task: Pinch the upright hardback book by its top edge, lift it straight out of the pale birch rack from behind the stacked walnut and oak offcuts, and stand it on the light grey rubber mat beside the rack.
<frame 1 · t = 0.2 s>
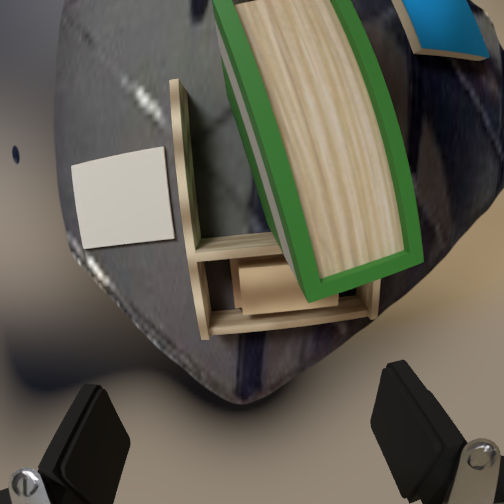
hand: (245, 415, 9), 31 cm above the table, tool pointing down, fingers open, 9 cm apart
mat: (120, 199, 37), on the table
oak offcut: (287, 279, 39), point 2 cm above the table, touching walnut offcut
hardback book: (275, 150, 37), on the table
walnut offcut: (283, 271, 41), on the table, touching oak offcut
rack: (279, 200, 38), on the table
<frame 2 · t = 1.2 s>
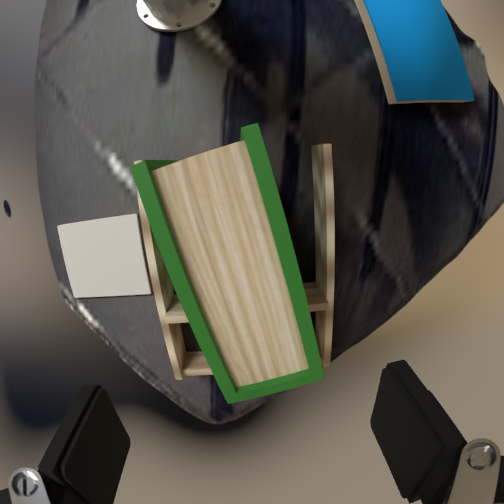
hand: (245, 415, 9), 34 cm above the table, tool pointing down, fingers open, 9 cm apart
mat: (102, 258, 41), on the table
book: (406, 34, 34), on the table
hardback book: (238, 216, 41), on the table
rack: (242, 262, 43), on the table
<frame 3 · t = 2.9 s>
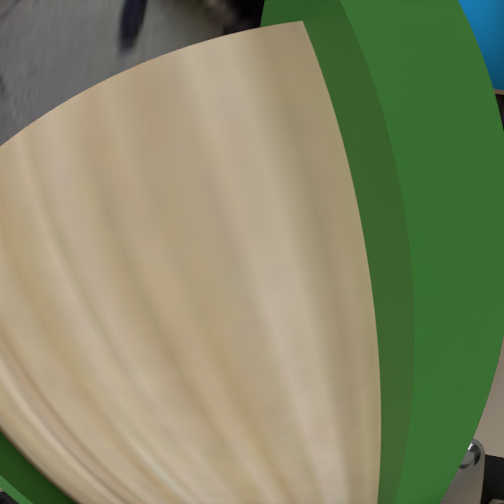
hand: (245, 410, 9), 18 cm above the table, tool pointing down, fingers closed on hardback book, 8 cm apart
book: (461, 6, 19), on the table
hardback book: (240, 252, 27), on the table, touching gripper
when the fingers open (19 cm above the table, at t = 14.6 s): hardback book stays where it is, resting on mat.
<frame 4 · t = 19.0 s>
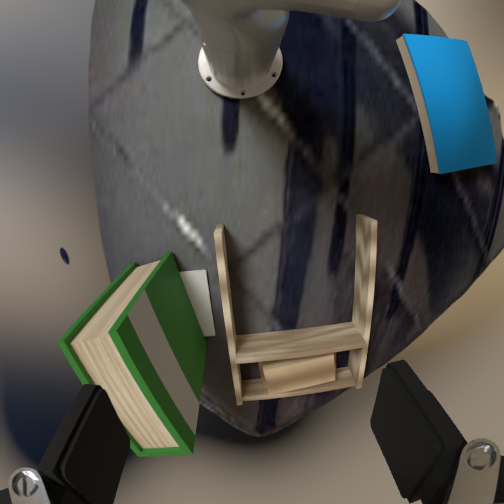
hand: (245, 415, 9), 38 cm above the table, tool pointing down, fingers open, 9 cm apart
mat: (170, 306, 49), on the table
book: (446, 102, 41), on the table
oak offcut: (298, 365, 51), point 2 cm above the table
hardback book: (170, 305, 49), resting on mat
rack: (295, 309, 50), on the table
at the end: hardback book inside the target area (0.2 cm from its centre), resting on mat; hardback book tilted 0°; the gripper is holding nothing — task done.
